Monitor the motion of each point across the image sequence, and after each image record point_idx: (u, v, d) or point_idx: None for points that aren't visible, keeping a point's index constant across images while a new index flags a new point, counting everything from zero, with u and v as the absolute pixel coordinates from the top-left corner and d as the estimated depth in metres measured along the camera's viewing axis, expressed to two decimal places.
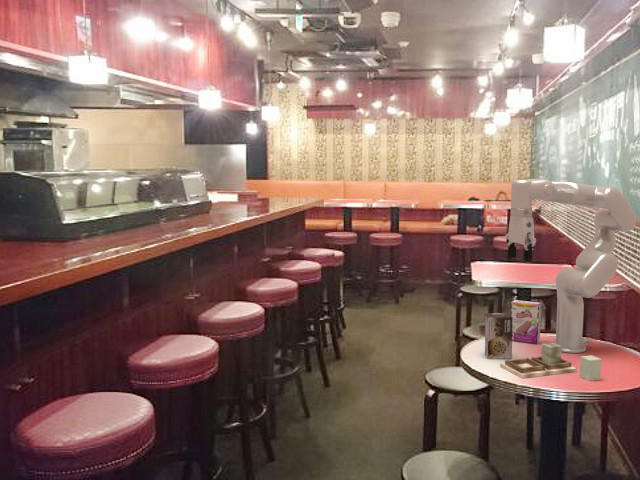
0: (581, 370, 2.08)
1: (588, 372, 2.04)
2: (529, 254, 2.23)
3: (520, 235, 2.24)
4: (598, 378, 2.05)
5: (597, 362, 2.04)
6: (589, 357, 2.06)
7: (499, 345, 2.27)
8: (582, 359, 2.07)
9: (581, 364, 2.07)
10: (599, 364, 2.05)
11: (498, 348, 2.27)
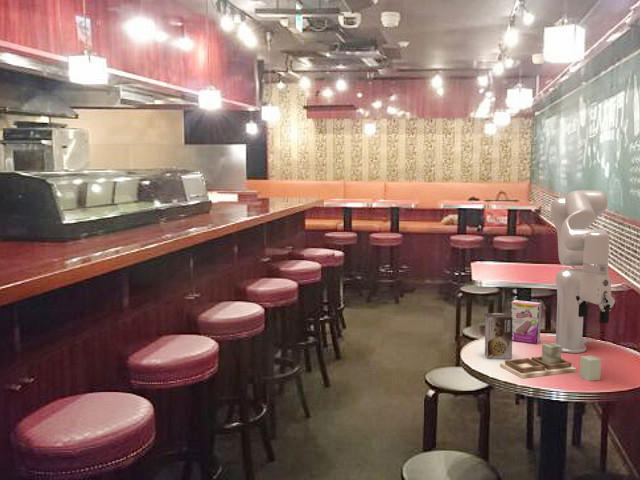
0: (581, 370, 2.08)
1: (588, 372, 2.04)
2: (606, 316, 1.98)
3: (595, 294, 2.00)
4: (598, 378, 2.05)
5: (597, 362, 2.04)
6: (589, 357, 2.06)
7: (499, 345, 2.27)
8: (582, 359, 2.07)
9: (581, 364, 2.07)
10: (599, 364, 2.05)
11: (498, 348, 2.27)
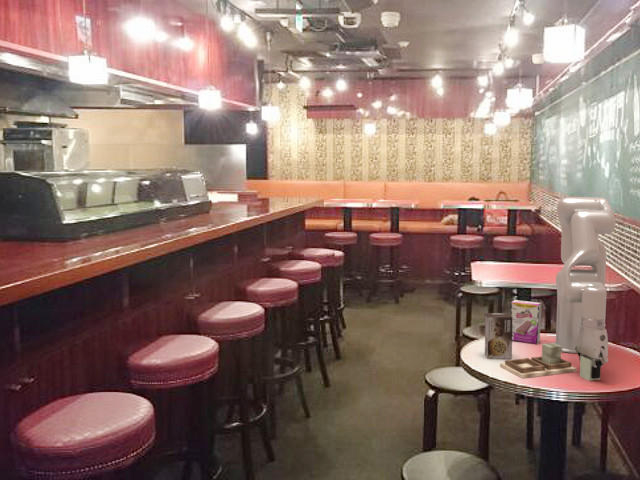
0: (581, 370, 2.08)
1: (588, 372, 2.04)
2: (597, 371, 2.03)
3: (592, 348, 2.02)
4: (598, 378, 2.05)
5: None
6: (589, 357, 2.06)
7: (499, 345, 2.27)
8: (582, 359, 2.07)
9: (581, 364, 2.07)
10: None
11: (498, 348, 2.27)
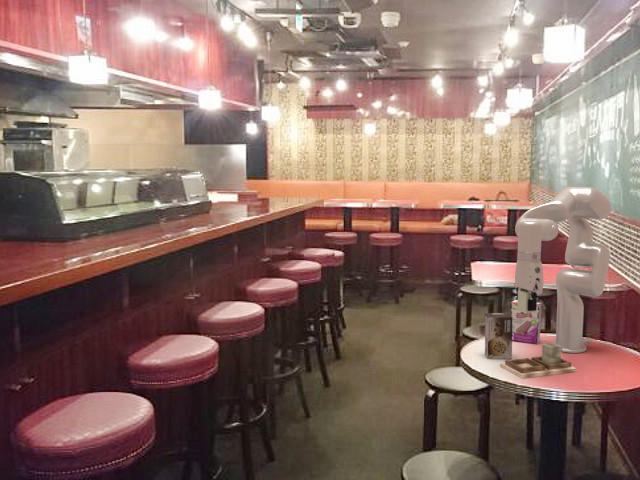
0: (518, 304, 2.12)
1: (524, 304, 2.09)
2: (533, 304, 2.08)
3: (528, 281, 2.07)
4: (534, 311, 2.10)
5: None
6: (526, 291, 2.11)
7: (499, 345, 2.27)
8: (519, 293, 2.12)
9: (518, 298, 2.12)
10: None
11: (498, 348, 2.27)
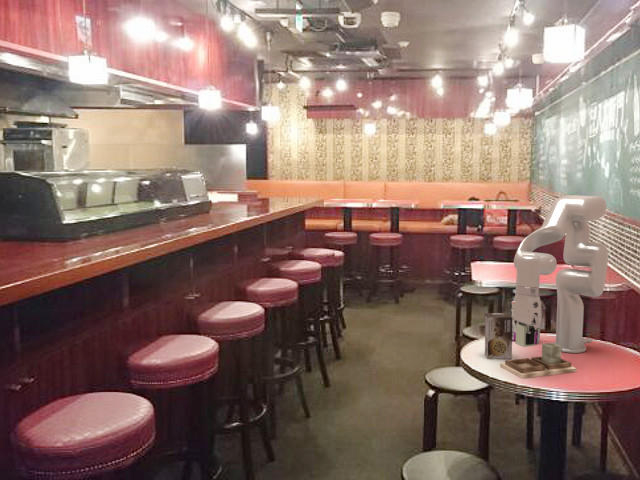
0: (516, 337, 2.14)
1: (522, 338, 2.10)
2: (531, 338, 2.09)
3: (526, 315, 2.08)
4: (532, 345, 2.11)
5: None
6: (524, 324, 2.12)
7: (499, 345, 2.27)
8: (517, 326, 2.13)
9: (516, 331, 2.14)
10: None
11: (498, 348, 2.27)
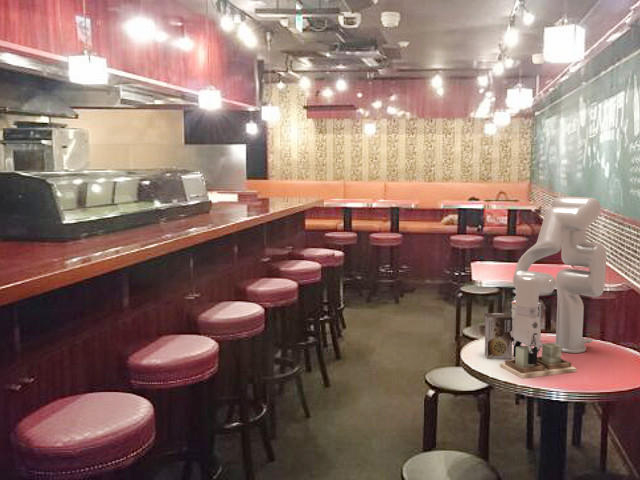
0: (516, 360, 2.15)
1: (522, 361, 2.12)
2: (534, 357, 2.09)
3: (525, 335, 2.09)
4: None
5: None
6: (523, 347, 2.14)
7: (499, 345, 2.27)
8: (517, 349, 2.14)
9: (516, 354, 2.15)
10: None
11: (498, 348, 2.27)
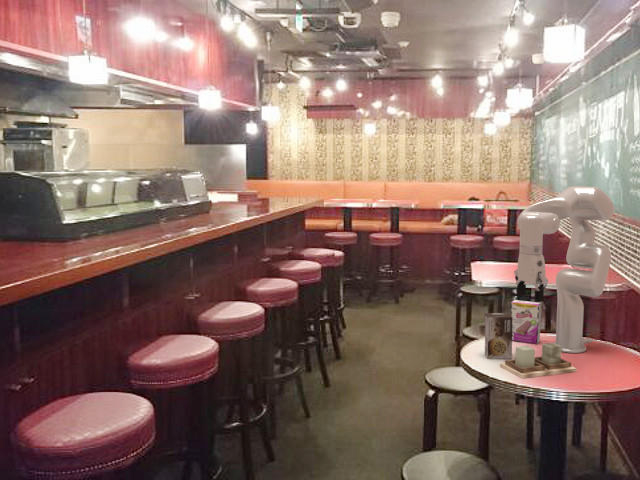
0: (516, 360, 2.15)
1: (522, 361, 2.12)
2: (540, 295, 2.08)
3: (530, 274, 2.09)
4: None
5: (530, 352, 2.12)
6: (523, 347, 2.14)
7: (499, 345, 2.27)
8: (517, 349, 2.14)
9: (516, 354, 2.15)
10: (533, 354, 2.12)
11: (498, 348, 2.27)
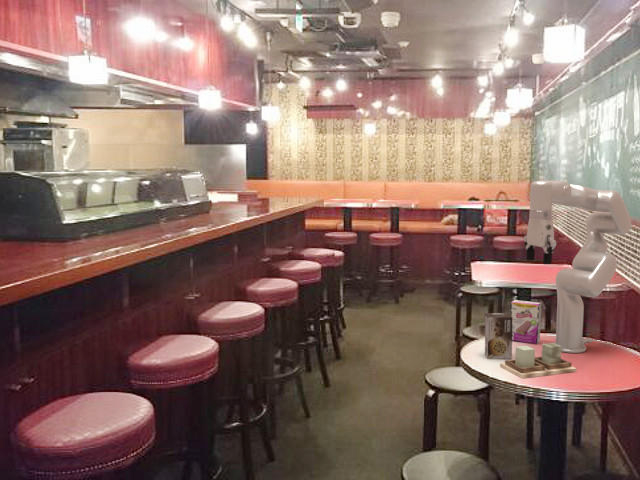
0: (516, 360, 2.15)
1: (522, 361, 2.12)
2: (549, 257, 2.18)
3: (539, 238, 2.19)
4: None
5: (530, 352, 2.12)
6: (523, 347, 2.14)
7: (499, 345, 2.27)
8: (517, 349, 2.14)
9: (516, 354, 2.15)
10: (533, 354, 2.12)
11: (498, 348, 2.27)
